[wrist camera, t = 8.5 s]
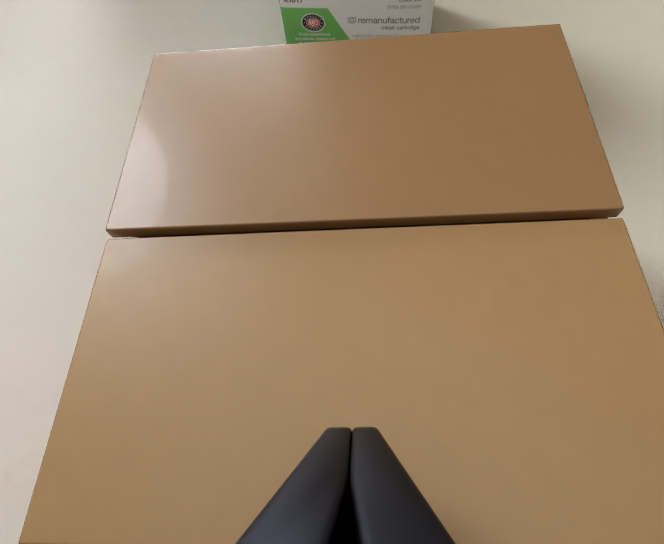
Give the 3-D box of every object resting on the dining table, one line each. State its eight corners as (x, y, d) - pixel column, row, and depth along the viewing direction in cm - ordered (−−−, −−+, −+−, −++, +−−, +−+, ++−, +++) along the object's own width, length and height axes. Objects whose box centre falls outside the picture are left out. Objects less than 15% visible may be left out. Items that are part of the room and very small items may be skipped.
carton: (563, 530, 15) (753, 562, 7) (182, 525, 16) (12, 549, 8) (496, 188, 21) (561, 21, 14) (227, 200, 22) (152, 52, 15)
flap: (730, 555, 8) (748, 557, 7) (31, 543, 9) (16, 545, 8) (615, 226, 11) (623, 217, 11) (114, 246, 12) (106, 238, 12)
